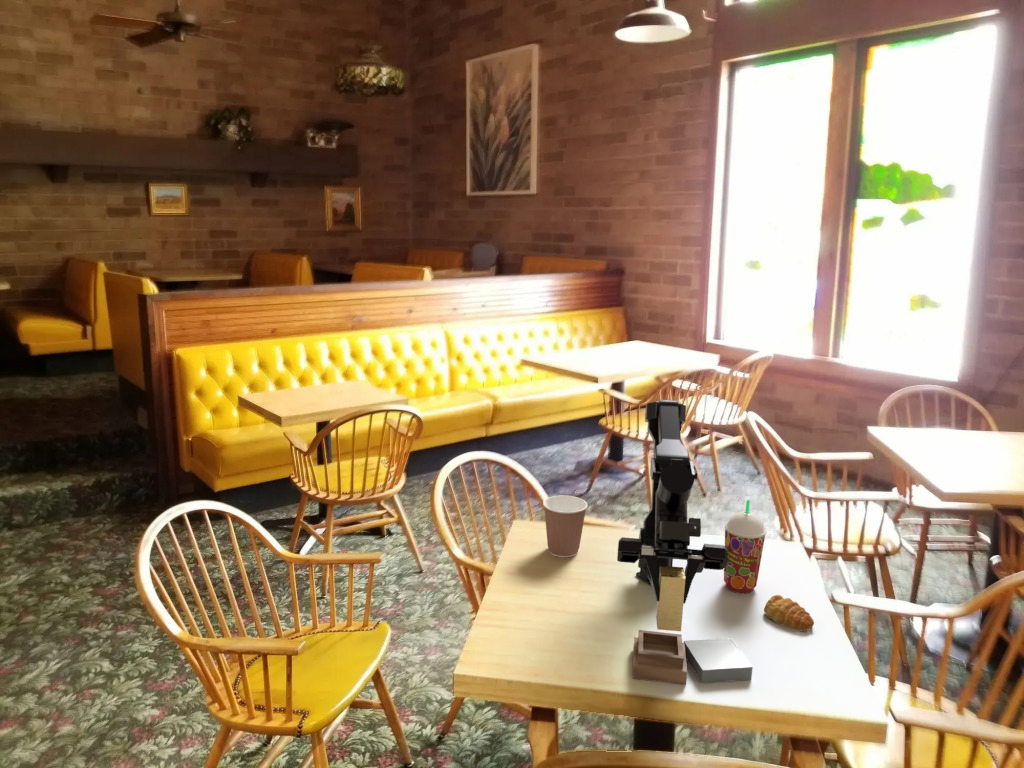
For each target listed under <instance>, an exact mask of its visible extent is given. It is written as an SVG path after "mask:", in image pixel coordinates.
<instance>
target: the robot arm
mask: <svg viewBox="0 0 1024 768" xmlns="http://www.w3.org/2000/svg"><path fill="white" fill-rule="evenodd" d="M686 418H687V405H686V404H682V403H681V401H678V400H675V399H673V400H671V399H659V400H656V401H651V402H648V403H646V404H645V413H644V422H645V423H647V432H648V433H649V435H650V437H651V439H652V441H653V457H651V458H650V469H649V471H650V472H649V473H650V478H651V480H652V486H651V487H652V488H651V507H650V508H651V509H650V510H649V512H648V514H646V517H645V518H644V519H643V526H642V527H640V529H639V535H638V538H634V537H623V536H622V537H621V538H619V540H618V544H617V557H616V558H617V559H616V560H617V562H619V563H631V564H635V563H636V562H637V561H638V564H637V568H640V569H639V571H637V572H636V573H635V576H636V577H638V578H639V579H641V580H642V581H644V582H646V583H647V584H649V585H650V586H651V588H652V591H653V595H654V597H655V600H656V602H657V601H659V597H660V588H659V573H660V566H672V567H673V562H674V560H681V561H684V560H685V561H686V564H685V565H686V566H685V568H684V573H685V589H684V602H683V605H684V604H686V603H687V599H688V595H689V592H690V590H691V585H692V583H693V580H694V578H695V576H696V574H700V573H703V571H704V569H705V570H714V571H720V570H724V567H725V565H726V563H727V561H728V552H727V549H726V547H725V544H715V543H714V544H713V543H703V546H702V548H701V549H692V548H688V547H689V546H690V543H691V538H695V537H696V538H700V537H701V535H702V534H701V533H702V523H701V522H702V520H701V519H702V518H699V517H698V518H697V517H690V518H688V501H689V500H690V496H691V492H692V489H693V486H694V482H695V480H698V470H697V468H696V465H694V461H693V459H690V454H689V449H688V448H687V447H686V446H685V445H683V444H682V436H681V431H682V425H684V424H685V423H686Z"/></svg>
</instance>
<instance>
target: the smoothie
mask: <svg viewBox="0 0 1024 768" xmlns="http://www.w3.org/2000/svg"><path fill="white" fill-rule="evenodd" d="M750 501H751V499H746V504H745V510H742V511H738V512H735V513H734V514H733V515H731V516H730V517H729V519H728V521H727V522H726V523H725V525H724V528H725V529H724V546H725V547H726V549H727V552H728V561H727V563H726V565H725V567H724V569H723V581H724V583H725V586H726V588H727V589H728V590H729V591H732V592H734V593H737V594H743V593H744V594H750V593H752V592H753V591H754V590H755V588H756V587H757V584H758V578H759V573H760V566H761V561H762V556H763V549H764V545H765V539H766V534H767V529H766V527H765V526H764V523H763V522H762V519H761V518H760V517H759V516H758V515H756V514H755V513H753V512H751V511H750V505H751V504H750V503H751V502H750Z"/></svg>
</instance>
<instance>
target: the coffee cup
mask: <svg viewBox="0 0 1024 768" xmlns="http://www.w3.org/2000/svg"><path fill="white" fill-rule="evenodd" d="M542 504H543V507H544V517H545V519H544V520H545V531H546V540H547V548H548V552H549V553H550V554H551V556H554V557H558V558H571V557H574V556H576V555H577V554H578V553H579V549H580V545H581V540H582V534H583V527H584V523H585V522H584V521H585V516H586V510H587V508H588V502H586V501H585V500H584V499H582V498H580V497H576V496H573V495H567V494H566V495H559V494H558V495H553V496H549V497H546V498H545V499H544V500H543V501H542Z"/></svg>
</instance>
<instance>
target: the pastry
mask: <svg viewBox="0 0 1024 768" xmlns="http://www.w3.org/2000/svg"><path fill="white" fill-rule="evenodd" d="M763 612H764V614H765V615H766V616H767V618H768V619H769V620H772V621H773V622H775V623H776V624H778V625H781V626H783V627H786V628H789V629H792V630H794V631H800V632H807V631H810V630H811V629H813V626H814V624H815V621H814V619H813V617H812V616H811V615H810V613H809V612H808V611H806V609H805V608H804V607H803V606H800V604H799V603H798V602H797V601H793V600H792V599H791V598H789V597H783V596H782V595H779V594H775V595H773V596H771V597H770V598H769V599H768V600H767V601H766V603H765V606H764V607H763Z"/></svg>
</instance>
